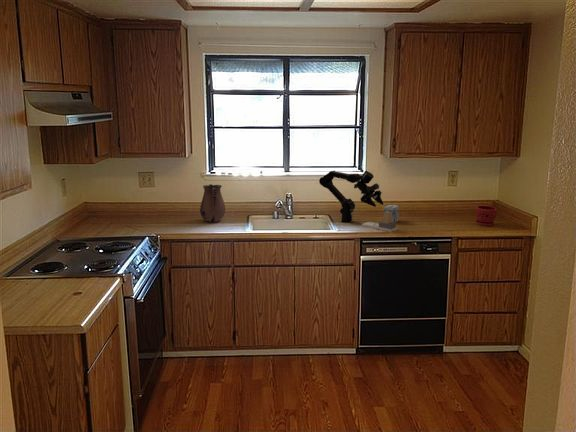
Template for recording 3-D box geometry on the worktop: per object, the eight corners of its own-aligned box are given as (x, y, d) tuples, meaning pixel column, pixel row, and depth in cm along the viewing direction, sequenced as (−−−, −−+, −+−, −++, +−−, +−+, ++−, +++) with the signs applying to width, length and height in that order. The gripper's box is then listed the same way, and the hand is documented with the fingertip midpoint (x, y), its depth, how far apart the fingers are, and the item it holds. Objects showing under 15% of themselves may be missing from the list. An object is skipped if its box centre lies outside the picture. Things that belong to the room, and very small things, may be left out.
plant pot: (472, 225, 333) (474, 207, 330) (477, 221, 343) (478, 204, 341) (493, 228, 326) (494, 210, 323) (497, 224, 336) (499, 206, 333)
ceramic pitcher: (221, 217, 359) (220, 182, 354) (230, 223, 341) (229, 187, 335) (197, 219, 352) (195, 184, 346) (205, 225, 333) (204, 189, 328)
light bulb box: (392, 223, 338) (392, 208, 336) (383, 222, 342) (383, 206, 340) (398, 220, 347) (399, 205, 344) (389, 219, 351) (390, 204, 348)
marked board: (361, 226, 331) (362, 224, 331) (368, 224, 337) (369, 221, 336) (390, 231, 316) (390, 229, 316) (397, 229, 322) (397, 227, 322)
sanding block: (378, 226, 323) (379, 211, 321) (383, 225, 327) (384, 210, 325) (390, 229, 317) (391, 213, 315) (395, 227, 321) (396, 212, 319)
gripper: (363, 181, 319) (379, 199, 314) (378, 178, 333) (393, 194, 328) (353, 193, 326) (369, 210, 320) (368, 189, 340) (383, 206, 334)
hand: (379, 205), depth 325 cm, fingers open, 9 cm apart
